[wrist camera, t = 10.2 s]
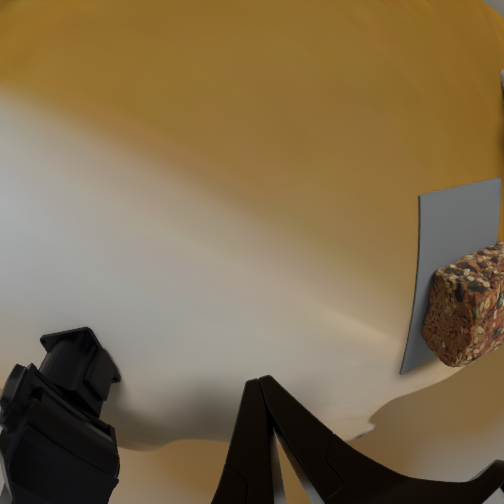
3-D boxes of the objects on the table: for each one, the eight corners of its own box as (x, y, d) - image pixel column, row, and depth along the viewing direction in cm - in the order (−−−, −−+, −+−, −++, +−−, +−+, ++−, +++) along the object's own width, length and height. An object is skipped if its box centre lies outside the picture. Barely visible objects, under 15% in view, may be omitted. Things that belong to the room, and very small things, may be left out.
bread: (503, 234, 26) (552, 258, 17) (489, 297, 30) (530, 326, 21) (430, 263, 24) (499, 308, 14) (414, 341, 28) (462, 391, 18)
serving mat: (399, 373, 30) (400, 375, 30) (417, 194, 21) (420, 195, 21) (476, 323, 32) (477, 324, 31) (498, 177, 23) (500, 177, 22)
